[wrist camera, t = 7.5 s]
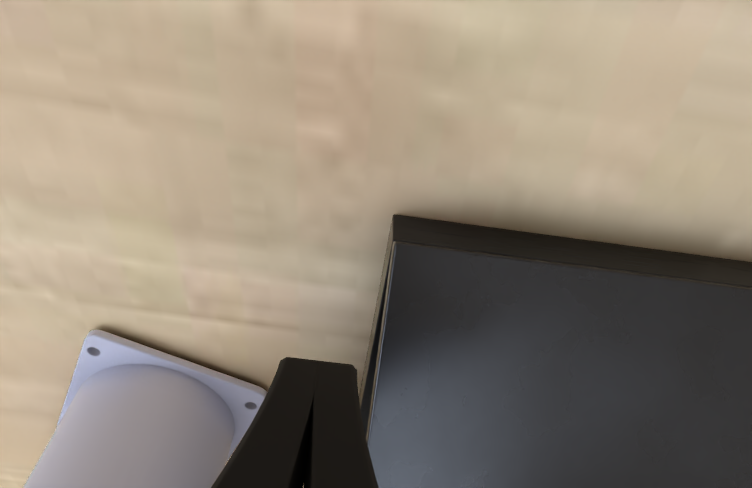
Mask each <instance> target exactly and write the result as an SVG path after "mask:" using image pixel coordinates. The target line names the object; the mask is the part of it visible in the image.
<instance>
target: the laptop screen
mask: <svg viewBox="0 0 752 488" xmlns="http://www.w3.org/2000/svg"><path fill="white" fill-rule="evenodd" d="M366 440H367V445H368V449H369V453H370V457H371V461H372V465H373V468H374V472H375V476H376V480H377V483H378V487H379V488H752V287H745V286H737V285H729V284H722V283H714V282H706V281H699V280H691V279H684V278H676V277H668V276H661V275H653V274H646V273H638V272H630V271H623V270H615V269H608V268H600V267H592V266H585V265H577V264H569V263H562V262H554V261H547V260H539V259H531V258H524V257H516V256H509V255H501V254H493V253H486V252H478V251H470V250H463V249H455V248H448V247H440V246H432V245H425V244H417V243H410V242H402V241H394V242H393V245H392V252H391V259H390V266H389V274H388V281H387V288H386V296H385V303H384V310H383V317H382V325H381V332H380V339H379V347H378V354H377V361H376V369H375V376H374V383H373V390H372V398H371V405H370V412H369V420H368V427H367V434H366Z"/></svg>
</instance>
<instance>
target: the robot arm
mask: <svg viewBox="0 0 752 488" xmlns="http://www.w3.org/2000/svg"><path fill="white" fill-rule="evenodd" d="M96 348H97V349H96ZM241 439H242V440H241ZM239 442H240V443H239ZM238 444H239V445H238ZM237 445H238V446H237ZM236 447H237V448H236ZM235 448H236V450H235ZM234 450H235V451H234ZM233 451H234V453H233ZM232 453H233V455H232ZM231 455H232V456H231ZM230 456H231V458H230ZM229 458H230V460H229V461H228V459H229ZM227 461H228V463H227V464H226V462H227ZM225 465H226V466H225ZM303 484H304V488H379V487H378V483H377V480H376V476H375V472H374V468H373V465H372V461H371V457H370V453H369V449H368V445H367V440H366V436H365V431H364V426H363V421H362V416H361V410H360V403H359V396H358V386H357V370H356V369H355V368H354V366H353V365H349V364H341V363H332V362H324V361H316V360H307V359H299V358H290V357H286V358H284V359H283V360H281V361H280V364H279V366H278V369H277V372H276V375H275V377H274V379H273V381H272V384H271V386H270V388H269V390H268V392H267V391H266V390H265V389H263V388H262V387H259V386H257V385H254V384H251V383H248V382H245V381H243V380H240V379H237V378H234V377H231V376H229V375H226V374H223V373H220V372H217V371H215V370H212V369H209V368H206V367H203V366H201V365H198V364H195V363H192V362H189V361H187V360H184V359H181V358H178V357H175V356H173V355H170V354H167V353H164V352H161V351H159V350H156V349H153V348H150V347H147V346H145V345H142V344H139V343H136V342H133V341H131V340H128V339H125V338H122V337H119V336H117V335H114V334H111V333H108V332H105V331H102V330H92V331H90V332H89V333H88V334H87V336H86V338H85V339H84V343H83V346H82V349H81V352H80V355H79V358H78V361H77V364H76V367H75V371H74V374H73V377H72V380H71V383H70V386H69V389H68V392H67V395H66V399H65V402H64V405H63V408H62V411H61V414H60V417H59V420H58V423H57V427H56V430H55V432H54V434H53V435H52V437H51V439H50V441H49V442H48V444H47V446H46V448H45V449H44V451H43V453H42V455H41V456H40V458H39V460H38V462H37V463H36V465H35V467H34V469H33V470H32V472H31V474H30V476H29V477H28V479H27V481H26V483H25V484H24V486H23V488H303Z"/></svg>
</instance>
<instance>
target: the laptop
mask: <svg viewBox="0 0 752 488" xmlns="http://www.w3.org/2000/svg"><path fill="white" fill-rule="evenodd" d="M394 241H402V242H410V243H417V244H425V245H432V246H440V247H448V248H455V249H463V250H470V251H478V252H486V253H493V254H501V255H509V256H516V257H524V258H531V259H539V260H547V261H554V262H562V263H569V264H577V265H585V266H592V267H600V268H608V269H615V270H623V271H630V272H638V273H646V274H653V275H661V276H668V277H676V278H684V279H691V280H699V281H706V282H714V283H722V284H729V285H737V286H745V287H752V262H745V261H738V260H730V259H723V258H715V257H708V256H700V255H693V254H685V253H678V252H670V251H663V250H656V249H648V248H641V247H633V246H626V245H618V244H611V243H603V242H596V241H588V240H581V239H573V238H566V237H558V236H551V235H543V234H536V233H529V232H521V231H514V230H506V229H499V228H491V227H484V226H476V225H469V224H461V223H454V222H446V221H439V220H431V219H424V218H416V217H409V216H401V215H393V217H392V223H391V228H390V233H389V239H388V244H387V250H386V255H385V260H384V266H383V271H382V276H381V282H380V287H379V293H378V298H377V303H376V309H375V314H374V320H373V325H372V330H371V336H370V341H369V346H368V352H367V357H366V363H365V368H364V373H363V379H362V384H361V390H360V395H359V403H360V410H361V416H362V421H363V426H364V431H365V436H366V434H367V427H368V420H369V412H370V405H371V398H372V390H373V383H374V376H375V369H376V361H377V354H378V347H379V339H380V332H381V325H382V317H383V310H384V303H385V296H386V288H387V281H388V274H389V266H390V259H391V252H392V245H393V242H394Z"/></svg>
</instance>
